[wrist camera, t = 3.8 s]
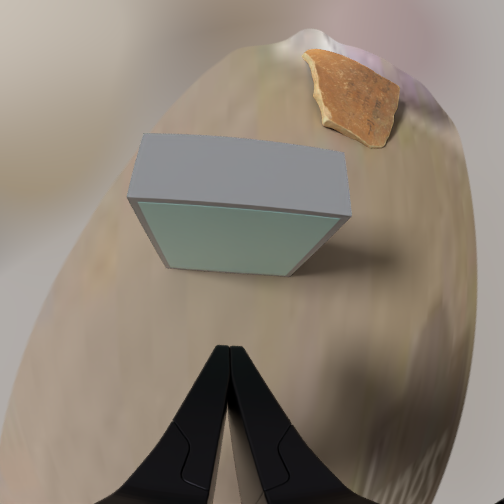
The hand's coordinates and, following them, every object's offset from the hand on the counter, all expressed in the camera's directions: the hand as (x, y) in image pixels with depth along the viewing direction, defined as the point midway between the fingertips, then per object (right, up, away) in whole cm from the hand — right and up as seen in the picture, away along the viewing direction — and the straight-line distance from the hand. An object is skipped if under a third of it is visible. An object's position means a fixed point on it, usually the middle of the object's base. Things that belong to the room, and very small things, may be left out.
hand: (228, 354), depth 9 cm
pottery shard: (+8, +16, +14) cm, 23 cm away
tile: (-1, +3, +8) cm, 9 cm away
